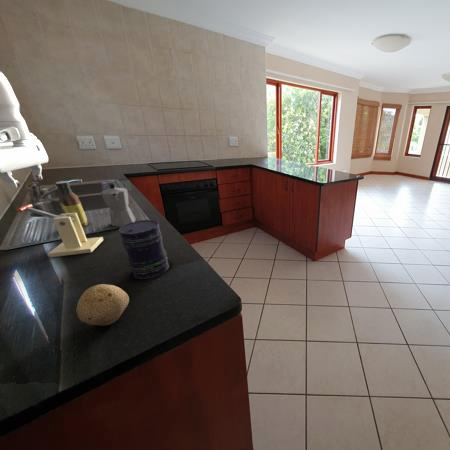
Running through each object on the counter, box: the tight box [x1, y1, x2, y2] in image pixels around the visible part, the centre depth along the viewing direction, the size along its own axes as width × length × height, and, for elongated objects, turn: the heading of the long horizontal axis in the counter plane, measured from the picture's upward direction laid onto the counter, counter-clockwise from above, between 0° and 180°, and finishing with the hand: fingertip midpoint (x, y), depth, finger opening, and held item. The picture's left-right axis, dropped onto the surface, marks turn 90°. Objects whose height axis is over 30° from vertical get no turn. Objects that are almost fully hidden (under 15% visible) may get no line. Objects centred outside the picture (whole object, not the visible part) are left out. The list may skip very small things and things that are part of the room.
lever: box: [16, 203, 74, 222], centre depth 80 cm, size 13×5×2 cm, turn 108°
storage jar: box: [118, 219, 170, 280], centre depth 71 cm, size 10×10×15 cm
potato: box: [75, 283, 130, 327], centre depth 53 cm, size 9×9×10 cm
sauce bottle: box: [55, 180, 89, 228], centre depth 101 cm, size 7×6×20 cm
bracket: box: [47, 213, 104, 258], centre depth 84 cm, size 12×10×13 cm
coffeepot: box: [100, 183, 137, 227], centre depth 106 cm, size 15×9×18 cm, turn 35°
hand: (27, 183), depth 69 cm, fingers open, 8 cm apart
